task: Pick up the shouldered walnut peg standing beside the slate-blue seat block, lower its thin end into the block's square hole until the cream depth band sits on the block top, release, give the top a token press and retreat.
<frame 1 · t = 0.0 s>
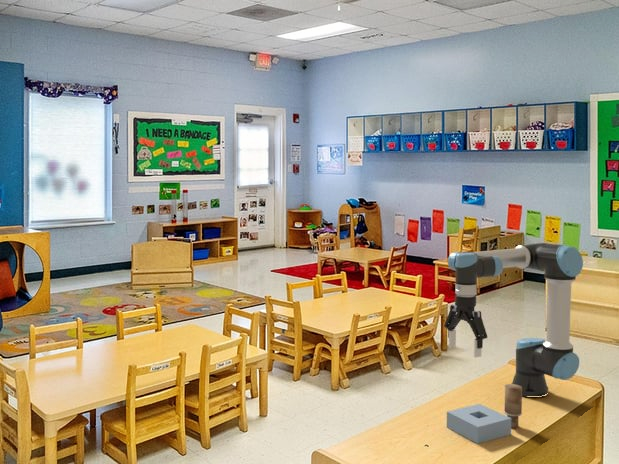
hand: (464, 352, 228), 28 cm above the table, fingers open, 13 cm apart
seat block: (478, 430, 225), on the table
peg: (512, 426, 229), on the table
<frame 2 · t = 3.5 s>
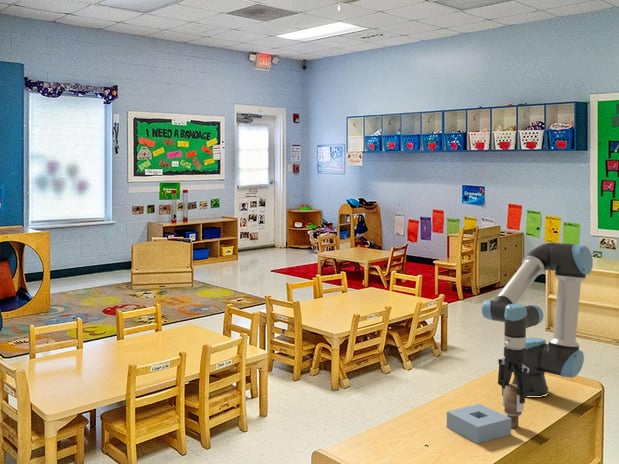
hand: (513, 408, 228), 7 cm above the table, fingers closed on peg, 6 cm apart
peg: (512, 426, 229), on the table, touching gripper
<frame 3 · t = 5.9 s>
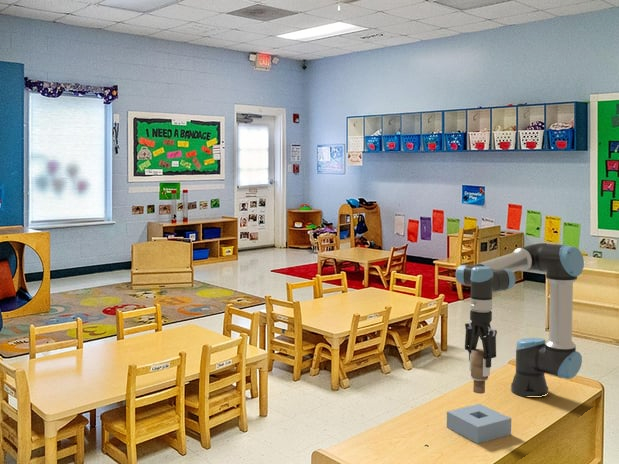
hand: (479, 373, 223), 22 cm above the table, fingers closed on peg, 6 cm apart
peg: (479, 391, 223), point 15 cm above the table, touching gripper
when the fingers open (9 cm above the table, at t = 8.2 s): peg drops 1 cm, resting on seat block.
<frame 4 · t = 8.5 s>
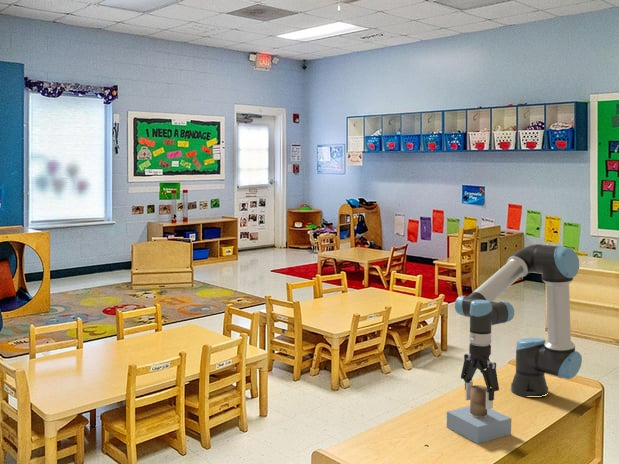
hand: (478, 403, 224), 10 cm above the table, fingers open, 9 cm apart
peg: (478, 428, 225), point 1 cm above the table, touching seat block
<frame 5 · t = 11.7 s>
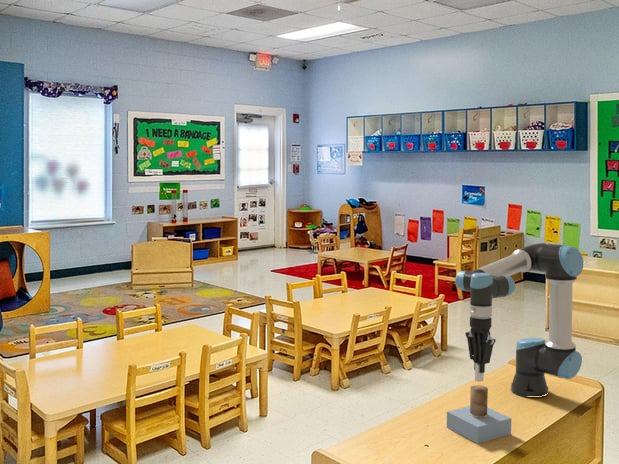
hand: (479, 380, 223), 19 cm above the table, fingers closed
nothing on the table moved.
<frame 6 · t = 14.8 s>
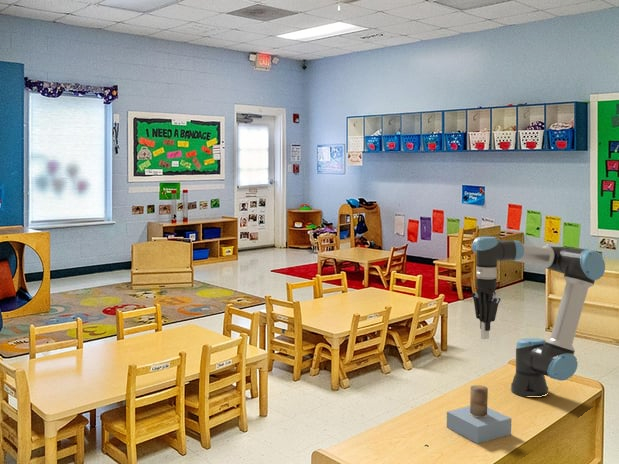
hand: (484, 338, 237), 30 cm above the table, fingers closed
nothing on the table moved.
at the end: peg 0.0 cm off-centre on the seat block, point 1.0 cm above the seat block's base; peg tilted 0°; the gripper is holding nothing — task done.
